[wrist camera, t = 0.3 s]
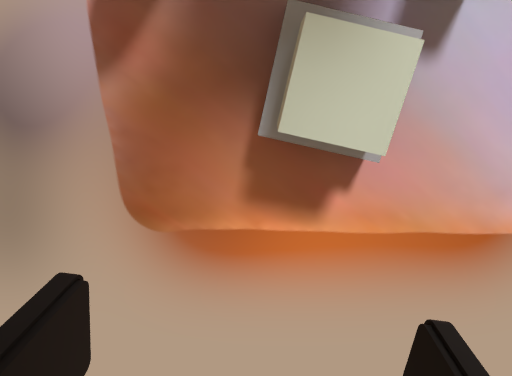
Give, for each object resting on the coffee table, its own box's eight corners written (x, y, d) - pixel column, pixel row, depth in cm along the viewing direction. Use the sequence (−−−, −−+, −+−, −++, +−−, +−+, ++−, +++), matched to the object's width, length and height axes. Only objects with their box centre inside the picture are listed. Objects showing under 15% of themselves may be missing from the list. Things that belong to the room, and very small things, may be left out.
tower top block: (301, 21, 31) (306, 12, 26) (401, 45, 31) (424, 40, 26) (276, 123, 34) (277, 131, 29) (369, 144, 34) (385, 156, 29)
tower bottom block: (285, 8, 35) (288, -2, 30) (403, 36, 36) (423, 30, 31) (259, 127, 39) (257, 135, 34) (365, 152, 39) (379, 162, 34)
